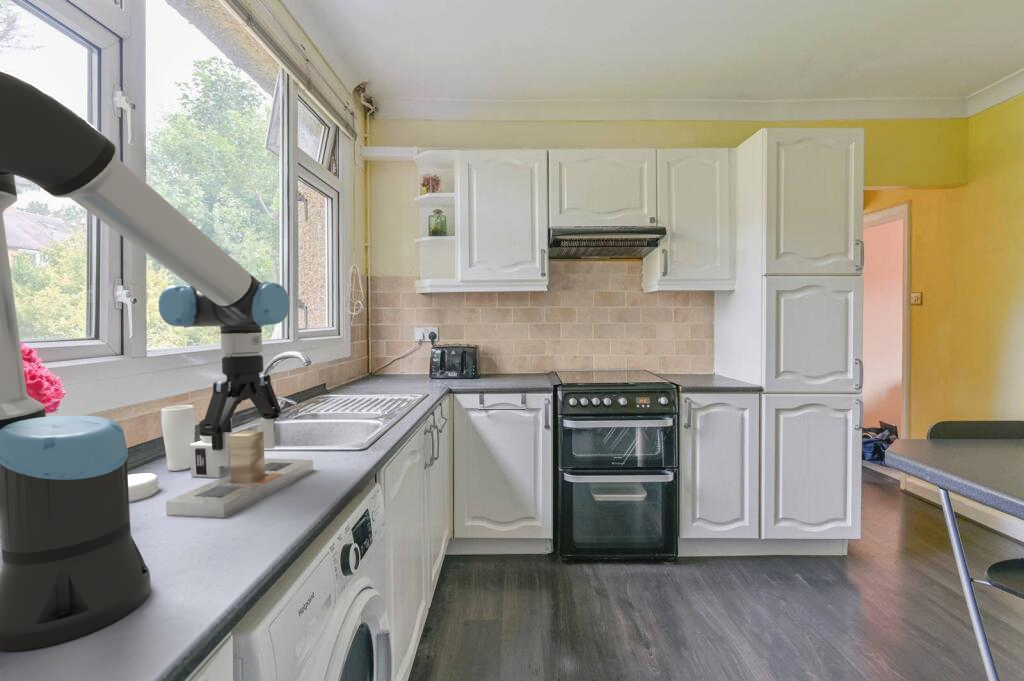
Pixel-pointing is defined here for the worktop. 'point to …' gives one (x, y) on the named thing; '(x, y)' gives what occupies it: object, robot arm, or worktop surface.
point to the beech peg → (247, 456)
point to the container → (207, 456)
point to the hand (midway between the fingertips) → (246, 456)
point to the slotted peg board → (237, 490)
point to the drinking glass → (178, 435)
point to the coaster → (142, 486)
